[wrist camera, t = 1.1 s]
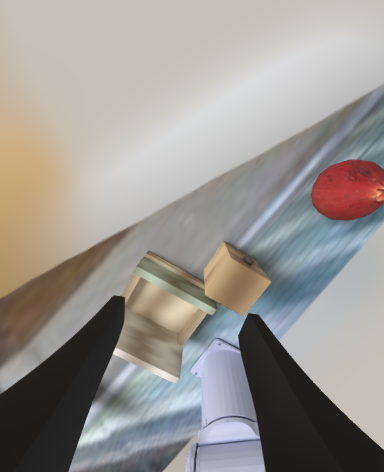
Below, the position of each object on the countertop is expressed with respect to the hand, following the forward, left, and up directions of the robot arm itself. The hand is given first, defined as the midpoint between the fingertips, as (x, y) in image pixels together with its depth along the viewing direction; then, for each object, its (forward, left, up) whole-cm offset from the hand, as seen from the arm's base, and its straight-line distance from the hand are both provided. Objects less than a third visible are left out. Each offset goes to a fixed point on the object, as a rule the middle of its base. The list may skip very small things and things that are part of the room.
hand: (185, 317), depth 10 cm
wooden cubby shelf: (-1, +9, -14) cm, 17 cm away
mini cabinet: (-6, 0, -14) cm, 15 cm away
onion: (-10, -14, -14) cm, 22 cm away
